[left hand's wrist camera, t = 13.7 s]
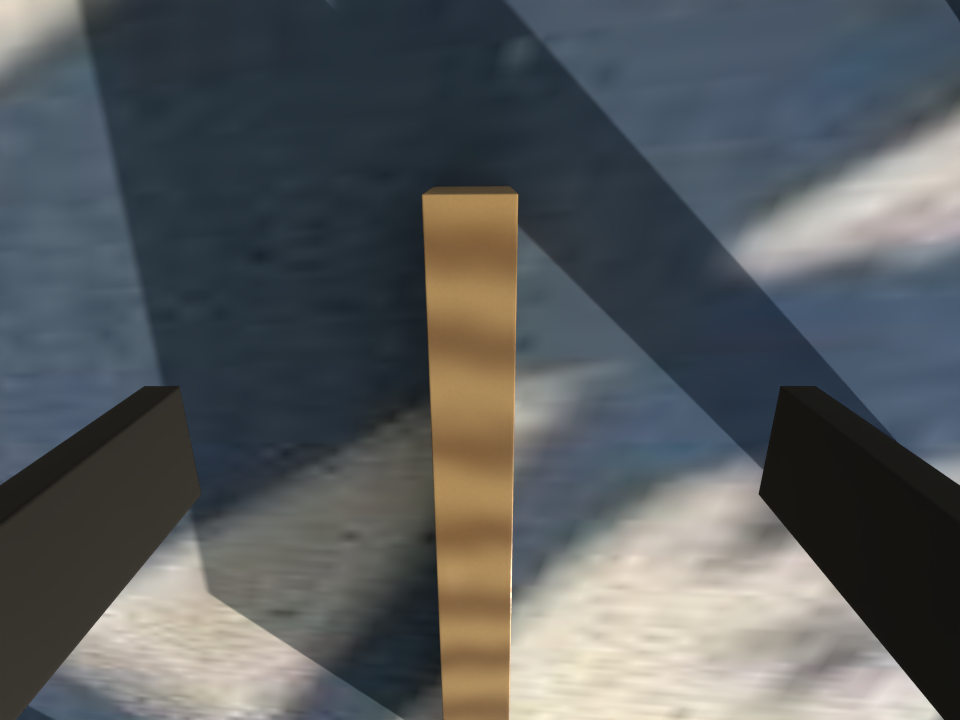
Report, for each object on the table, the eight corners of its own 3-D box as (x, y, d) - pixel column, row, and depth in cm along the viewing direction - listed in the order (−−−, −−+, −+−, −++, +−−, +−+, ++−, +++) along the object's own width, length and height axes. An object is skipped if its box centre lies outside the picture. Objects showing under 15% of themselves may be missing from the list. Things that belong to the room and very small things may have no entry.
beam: (433, 186, 36) (421, 194, 29) (510, 186, 36) (518, 193, 29) (452, 752, 54) (448, 842, 47) (503, 751, 54) (507, 842, 47)
